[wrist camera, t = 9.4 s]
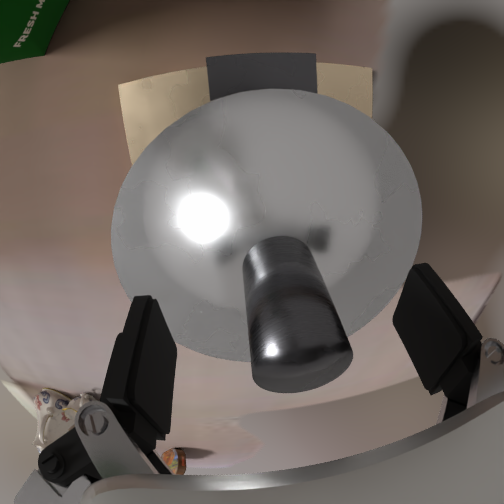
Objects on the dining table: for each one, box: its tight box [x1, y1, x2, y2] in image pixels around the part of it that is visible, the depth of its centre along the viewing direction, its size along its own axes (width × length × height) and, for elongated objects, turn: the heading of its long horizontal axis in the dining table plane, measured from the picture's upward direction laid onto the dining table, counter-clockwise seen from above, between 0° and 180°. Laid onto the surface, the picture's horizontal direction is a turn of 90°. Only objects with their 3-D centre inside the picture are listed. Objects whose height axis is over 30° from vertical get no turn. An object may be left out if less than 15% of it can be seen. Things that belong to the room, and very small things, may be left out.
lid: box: [111, 89, 422, 393], centre depth 10 cm, size 14×14×6 cm
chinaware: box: [32, 388, 98, 454], centre depth 36 cm, size 28×17×17 cm, turn 153°
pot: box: [118, 53, 373, 166], centre depth 17 cm, size 18×18×10 cm
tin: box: [161, 448, 186, 475], centre depth 56 cm, size 15×3×8 cm, turn 146°
